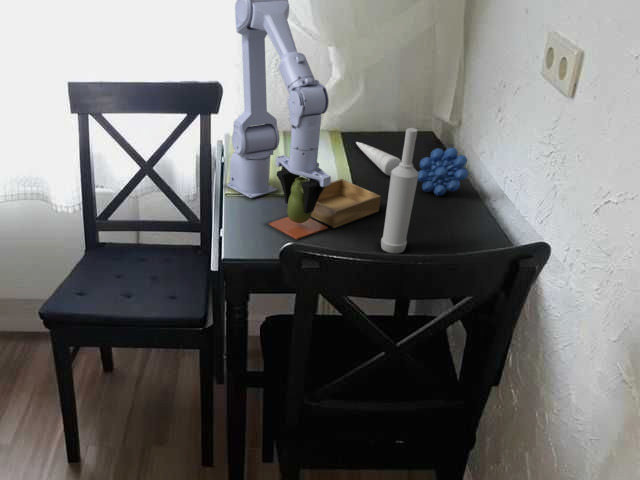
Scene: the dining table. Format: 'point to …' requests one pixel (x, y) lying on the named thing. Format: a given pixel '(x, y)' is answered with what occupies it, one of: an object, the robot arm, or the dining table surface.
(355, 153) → the dining table surface
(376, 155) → the unicorn horn
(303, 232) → the coaster
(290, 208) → the pear
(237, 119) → the robot arm
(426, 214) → the dining table surface
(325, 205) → the wooden shallow box
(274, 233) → the dining table surface
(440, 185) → the blue knobbed flower
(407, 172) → the bottle
